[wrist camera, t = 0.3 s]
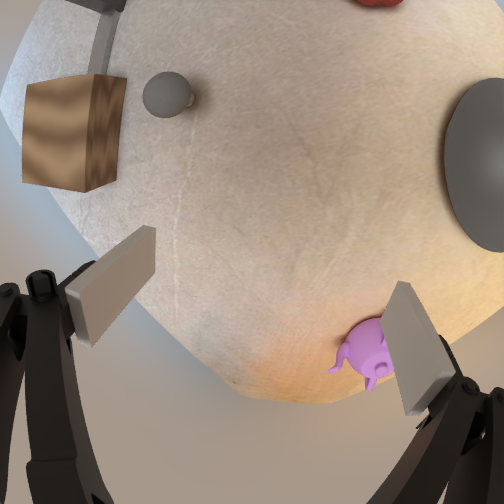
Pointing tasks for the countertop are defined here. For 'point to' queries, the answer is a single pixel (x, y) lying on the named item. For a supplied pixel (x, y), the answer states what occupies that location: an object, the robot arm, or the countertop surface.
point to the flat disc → (478, 163)
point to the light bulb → (167, 95)
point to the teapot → (366, 352)
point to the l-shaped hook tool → (102, 31)
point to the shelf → (72, 132)
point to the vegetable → (380, 2)
